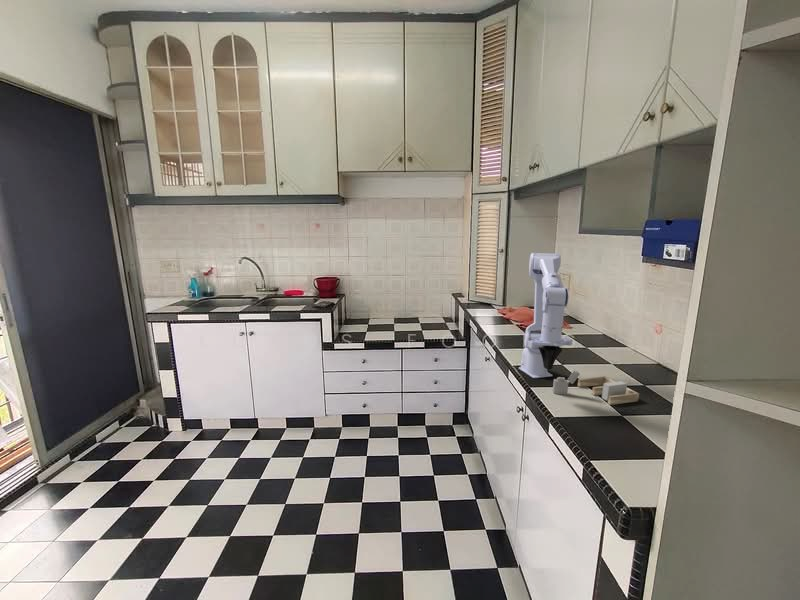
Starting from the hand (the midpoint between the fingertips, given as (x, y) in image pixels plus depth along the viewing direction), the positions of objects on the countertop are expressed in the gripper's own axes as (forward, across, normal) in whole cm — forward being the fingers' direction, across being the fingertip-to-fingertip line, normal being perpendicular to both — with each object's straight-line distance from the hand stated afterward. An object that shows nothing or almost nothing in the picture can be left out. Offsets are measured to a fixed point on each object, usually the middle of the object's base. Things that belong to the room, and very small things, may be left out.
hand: (547, 368), depth 108 cm
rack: (+9, +20, -3) cm, 23 cm away
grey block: (+9, +20, -6) cm, 23 cm away
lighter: (+10, +8, 0) cm, 12 cm away
